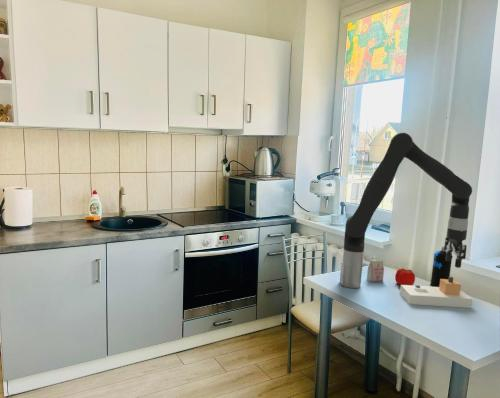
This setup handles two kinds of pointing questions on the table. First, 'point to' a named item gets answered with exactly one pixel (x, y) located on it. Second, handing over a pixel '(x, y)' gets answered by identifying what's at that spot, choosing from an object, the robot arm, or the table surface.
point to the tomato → (405, 277)
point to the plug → (449, 286)
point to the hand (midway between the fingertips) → (452, 264)
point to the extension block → (433, 297)
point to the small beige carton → (375, 271)
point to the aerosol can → (440, 268)
